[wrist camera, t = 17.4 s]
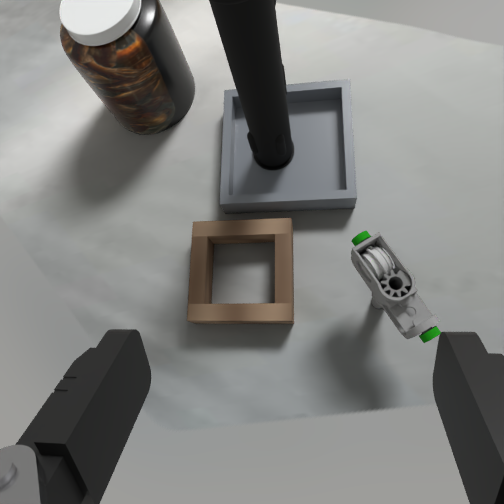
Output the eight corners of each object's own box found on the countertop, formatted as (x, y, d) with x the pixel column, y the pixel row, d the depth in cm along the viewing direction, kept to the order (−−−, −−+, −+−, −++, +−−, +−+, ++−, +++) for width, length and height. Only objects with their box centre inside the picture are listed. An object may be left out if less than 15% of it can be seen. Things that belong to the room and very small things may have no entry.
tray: (348, 95, 50) (349, 79, 47) (354, 208, 46) (356, 197, 43) (229, 105, 52) (224, 90, 49) (225, 213, 48) (219, 203, 45)
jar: (205, 116, 52) (163, 22, 38) (122, 146, 53) (50, 65, 39) (184, 48, 56) (139, -61, 42) (107, 77, 57) (36, -21, 42)
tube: (203, -1, 24) (289, -42, 24) (173, -61, 26) (253, -100, 25) (261, 180, 48) (304, 161, 47) (244, 143, 49) (285, 124, 49)
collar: (292, 227, 46) (291, 217, 43) (293, 323, 43) (292, 320, 40) (200, 230, 48) (192, 221, 45) (195, 323, 45) (186, 320, 42)
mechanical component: (396, 351, 41) (419, 346, 31) (339, 268, 44) (345, 241, 35) (421, 336, 41) (452, 327, 31) (362, 254, 44) (375, 223, 35)
